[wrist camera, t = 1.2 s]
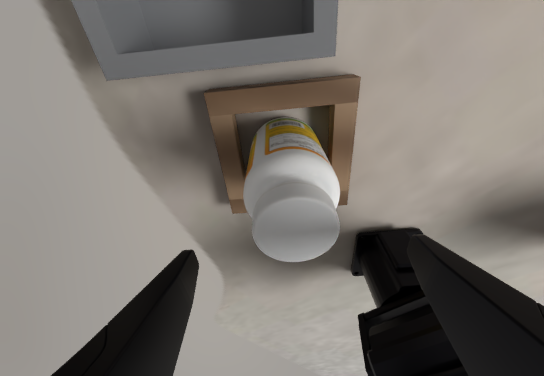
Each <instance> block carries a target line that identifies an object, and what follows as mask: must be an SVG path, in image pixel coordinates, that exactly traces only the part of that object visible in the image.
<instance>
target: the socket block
mask: <svg viewBox="0 0 544 376" xmlns="http://www.w3.org/2000/svg"><path fill="white" fill-rule="evenodd" d="M360 79H361V77H359V76H356V75H354V74H352V75H342V76H333V77H323V78H313V79H303V80H294V81H284V82H274V83H265V84H255V85H245V86H236V87H226V88H216V89H209V90H207V91H206V92H205V93H204V97H205V101H206V105H207V109H208V113H209V118H210V122H211V126H212V130H213V134H214V138H215V143H216V147H217V151H218V155H219V159H220V163H221V167H222V172H223V176H224V180H225V184H226V188H227V192H228V197H229V201H230V205H231V209H232V213H233V214H234V213H247V210H246V208H245V204H244V199H243V191H244V182H245V177H246V173H245V168H244V162H243V156H242V151H241V145H240V140H239V134H238V129H237V123H236V117H235V114H241V113H251V112H262V111H272V110H282V109H292V108H303V107H313V106H323V105H330V113H329V136H328V160H329V162H330V164H331V166H332V168H333V170H334V172H335V174H336V176H337V179H338V182H339V186H340V198H339V203H338V205H347V200H348V190H349V181H350V172H351V162H352V153H353V144H354V135H355V125H356V116H357V107H358V97H359V88H360Z"/></svg>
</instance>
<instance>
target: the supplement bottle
mask: <svg viewBox="0 0 544 376" xmlns="http://www.w3.org/2000/svg"><path fill="white" fill-rule="evenodd" d="M339 198H340V186H339V182H338V179H337V176H336V174H335V172H334V170H333V168H332V166H331V164H330V162H329V160H328V158H327V156H326V154H325V152H324V150H323V149H322V147H321V145H320V143H319V141H318V139H317V137H316V135H315V133H314V132H313V130H312V129H311V128H310V127H309V126H308V125H307V124H306V123H304V122H303V121H301V120H298V119H295V118H291V117H280V118H276V119H273V120H270V121H268V122H267V123H265V124H264V125H263V126H262V127H261V128H260V129H259V130H258V131H257V133H256V134H255V136H254V138H253V141H252V145H251V150H250V156H249V162H248V167H247V172H246V177H245V182H244V191H243V199H244V204H245V208H246V210H247V212H248V214H249V215H250V217H251V218H252V219H253V221H252V235H253V239H254V242H255V244H256V245H257V247H258V248H259V249H260V250H261V251H262V252H263V253H264V254H266V255H267V256H269V257H271V258H273V259H276V260H280V261H285V262H301V261H307V260H311V259H313V258H316V257H318V256H320V255H322V254H323V253H325V252H326V251H328V250H329V249H330V248H331V247H332V246H333V245H334V243H335V242H336V240H337V238H338V236H339V232H340V221H339V218H338V215H337V212H336V208H337V206H338V203H339Z"/></svg>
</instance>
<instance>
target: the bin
mask: <svg viewBox="0 0 544 376" xmlns="http://www.w3.org/2000/svg"><path fill="white" fill-rule="evenodd" d="M71 1H72V4H73V6H74V8H75V10H76V13H77V15H78V17H79V19H80V22H81V24H82V26H83V28H84V31H85V33H86V35H87V37H88V40H89V42H90V44H91V46H92V49H93V51H94V53H95V55H96V58H97V60H98V62H99V64H100V67H101V69H102V71H103V73H104V76H105V78H106V80H107V81H108V80H117V79H127V78H136V77H145V76H155V75H164V74H173V73H183V72H192V71H201V70H211V69H220V68H229V67H239V66H248V65H257V64H267V63H276V62H285V61H295V60H304V59H313V58H323V57H332V56H335V53H336V34H337V14H338V0H71Z"/></svg>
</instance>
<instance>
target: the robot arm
mask: <svg viewBox="0 0 544 376" xmlns="http://www.w3.org/2000/svg"><path fill="white" fill-rule="evenodd" d="M361 237H362V238H361ZM198 269H199V263H198V260H197V257H196V255H195V253H194V251H193V250H184V251H182V252H181V253H180V254H179V255H178V256H177V257H176V258H175V259H174V260H172V262H171V263H169V264H168V265H167V266H166V267H165V268H164V269H163V270H162V271H161V272H160V273H159V274H158V275H157V276H156V277H155V278H154V279H153V280H152V281H151V282H150V283H149V284H148V285H147V286H146V287H145V288H144V289H143V290H142V291H141V292H140V293H139V294H138V295H136V296H135V297H134V298H133V299H132V300H131V301H130V302H129V303H128V304H127V305H126V306H125V307H124V308H123V309H122V310H121V311H120V312H119V313H118V314H117V315H116V316H115V317H114V318H113V319H112V320H111V321H110V322H109V323H108V325H106V326H105V327H104V328H103V329H102V330H101V331H100V332H98V333H97V334H96V335H95V336H94V337H93V338H92V339H91V340H90V341H89V342H88V343H87V344H86V345H85V346H84V347H83V348H81V350H79V351H78V352H77V353H76V354H75V355H74V356H73V357H71V358H70V359H69V360H68V361H67V362H66V363H65V364H64V365H63V366H61V367H60V368H59V369H58V370H57V371H56V372H55V373H53V374H52V375H51V376H173V373H174V370H175V366H176V362H177V359H178V355H179V352H180V348H181V344H182V341H183V337H184V333H185V330H186V326H187V322H188V319H189V316H190V312H191V308H192V304H193V299H194V293H195V287H196V281H197V275H198ZM351 273H352V275H353V276H364V277H365V279H366V282H367V284H368V287H369V289H370V292H371V294H372V297H373V299H374V302H375V304H376V307H377V308H376V309H374V310H371V311H369V312H366V313H361V314H359V315H358V320H359V330H360V336H361V343H362V349H363V355H364V362H365V368H366V372H367V374H368V376H544V306H543V305H541V304H540V303H536V301H534V300H533V299H531V298H529V297H528V296H526V295H524V294H523V293H521V292H519V291H518V290H516V289H514V288H513V287H511V286H509V285H508V284H506V283H504V282H503V281H501V280H499V279H498V278H496V277H494V276H493V275H491V274H489V273H488V272H486V271H484V270H483V269H481V268H479V267H478V266H476V265H474V264H472V263H471V262H469V261H467V260H466V259H464V258H462V257H461V256H459V255H457V254H456V253H454V252H452V251H451V250H449V249H447V248H446V247H444V246H442V245H441V244H439V243H437V242H436V241H434V240H432V239H431V238H429V237H427V236H426V235H423V233H422V231H421V230H420V229H405V230H391V231H377V232H363V233H359V234H357V236H356V240H355V247H354V254H353V261H352V267H351Z"/></svg>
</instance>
